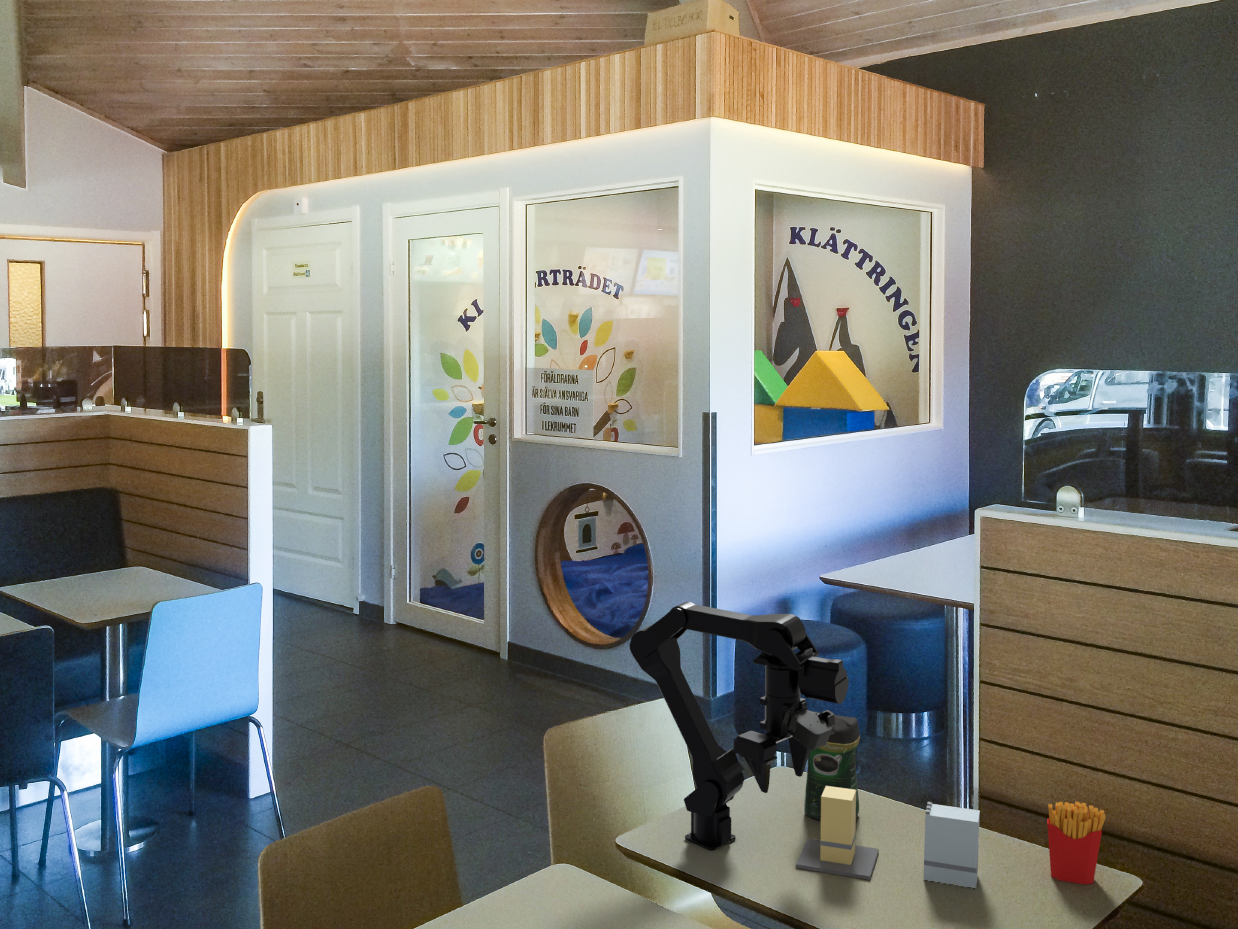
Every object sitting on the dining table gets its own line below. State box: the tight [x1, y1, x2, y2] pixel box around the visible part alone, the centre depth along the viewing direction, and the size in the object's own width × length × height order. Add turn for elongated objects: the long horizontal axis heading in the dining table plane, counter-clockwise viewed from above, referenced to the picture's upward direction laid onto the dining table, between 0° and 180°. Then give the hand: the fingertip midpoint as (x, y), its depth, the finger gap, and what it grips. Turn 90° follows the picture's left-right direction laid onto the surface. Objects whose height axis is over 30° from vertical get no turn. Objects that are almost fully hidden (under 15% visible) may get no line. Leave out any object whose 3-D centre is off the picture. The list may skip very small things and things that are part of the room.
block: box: [819, 786, 857, 865], centre depth 183 cm, size 5×4×11 cm
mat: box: [795, 837, 880, 881], centre depth 184 cm, size 12×10×1 cm
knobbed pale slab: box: [923, 801, 981, 889], centre depth 177 cm, size 8×4×11 cm, turn 69°
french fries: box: [1046, 800, 1107, 885], centre depth 177 cm, size 8×4×12 cm, turn 69°
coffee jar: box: [803, 711, 861, 820], centre depth 200 cm, size 10×8×19 cm
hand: (781, 784), depth 183 cm, fingers open, 9 cm apart
